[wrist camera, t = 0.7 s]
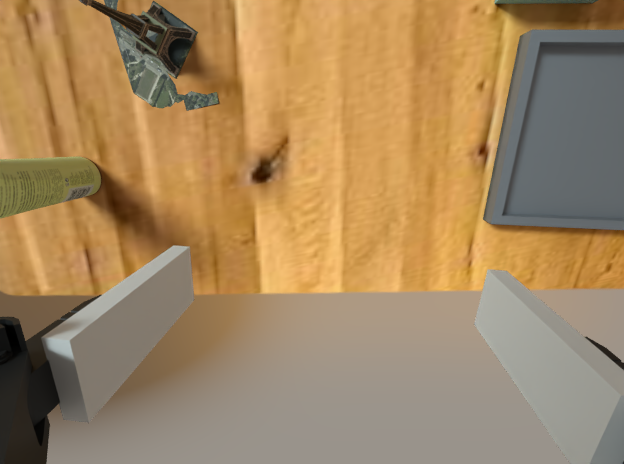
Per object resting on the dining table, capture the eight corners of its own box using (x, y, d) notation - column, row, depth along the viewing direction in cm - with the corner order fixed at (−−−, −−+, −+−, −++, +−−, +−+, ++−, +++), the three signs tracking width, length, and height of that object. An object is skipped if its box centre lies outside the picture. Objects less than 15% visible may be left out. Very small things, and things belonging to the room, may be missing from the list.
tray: (520, 35, 31) (531, 29, 29) (717, 36, 30) (742, 30, 28) (483, 219, 37) (490, 224, 35) (646, 226, 36) (663, 232, 34)
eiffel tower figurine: (96, -27, 33) (-55, -125, 20) (184, -53, 32) (80, -176, 19) (144, 121, 37) (44, 115, 25) (224, 103, 36) (160, 88, 23)
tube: (55, 159, 39) (-201, 183, 21) (87, 145, 38) (-150, 157, 20) (79, 200, 41) (-139, 258, 22) (111, 188, 40) (-89, 237, 21)
